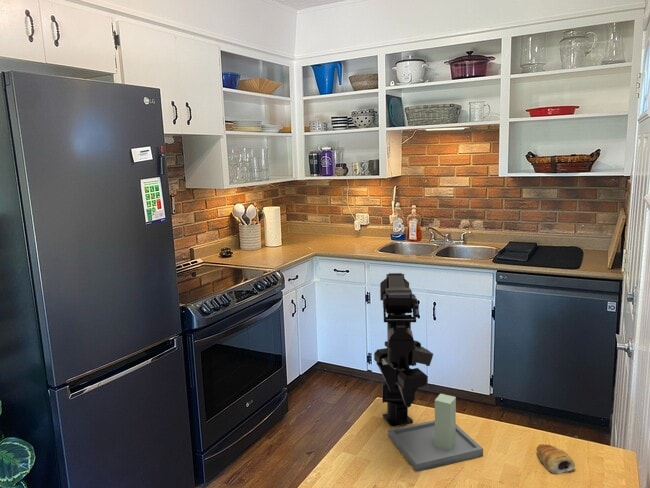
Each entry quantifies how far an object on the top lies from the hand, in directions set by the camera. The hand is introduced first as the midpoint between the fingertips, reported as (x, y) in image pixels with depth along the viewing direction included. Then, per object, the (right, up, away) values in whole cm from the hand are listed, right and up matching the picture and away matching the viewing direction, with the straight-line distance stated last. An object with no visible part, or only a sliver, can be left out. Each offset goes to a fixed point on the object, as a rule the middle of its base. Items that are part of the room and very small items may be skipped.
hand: (399, 398), depth 126 cm
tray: (+9, -13, +2) cm, 16 cm away
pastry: (+36, -14, -7) cm, 39 cm away
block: (+11, -12, 0) cm, 16 cm away
